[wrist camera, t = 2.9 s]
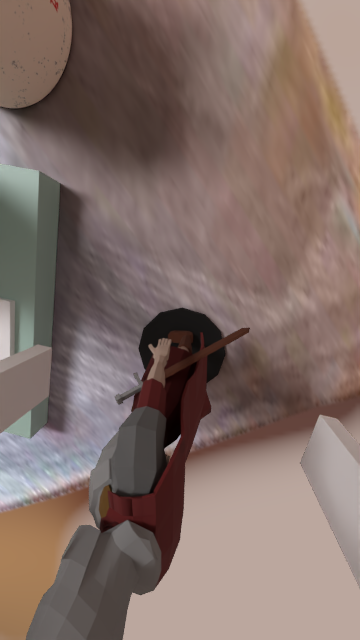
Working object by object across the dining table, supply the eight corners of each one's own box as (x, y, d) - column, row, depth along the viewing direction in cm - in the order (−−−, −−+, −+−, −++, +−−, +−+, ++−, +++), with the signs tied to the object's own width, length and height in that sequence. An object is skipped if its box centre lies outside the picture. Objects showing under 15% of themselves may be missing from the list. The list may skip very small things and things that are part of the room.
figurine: (138, 305, 17) (-338, 552, 2) (236, 309, 16) (566, 768, 1) (140, 385, 18) (-130, 849, 4) (230, 393, 17) (344, 1036, 3)
